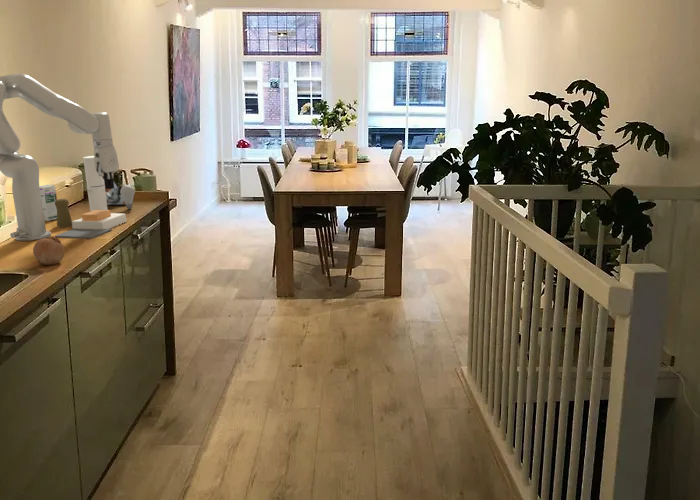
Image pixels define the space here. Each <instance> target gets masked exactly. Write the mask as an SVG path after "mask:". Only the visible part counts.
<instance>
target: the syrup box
mask: <svg viewBox="0 0 700 500" xmlns="http://www.w3.org/2000/svg"><path fill="white" fill-rule="evenodd" d="M39 187H40V194H41V200H42V207H43V214H44V220H45V221H46V222H50V221H53V220H57V207H56V206H55V201H56V200H57V199H58V196H57V190H56V185H53V184H44V185H39Z"/></svg>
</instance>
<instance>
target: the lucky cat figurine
mask: <svg viewBox="0 0 700 500" xmlns="http://www.w3.org/2000/svg"><path fill="white" fill-rule="evenodd" d="M104 185H105V183H104ZM123 186H124V185H123V183H121V184H120V185H119V186H117V184H116V183H115V182H114V188H112V189H105V193H106V201H107V206H111V205H117V206H120V205H121V206H126V204H125V200H124V198H123V197H122V195H121V193H120V190H121V188H122V187H123Z"/></svg>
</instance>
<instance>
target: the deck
mask: <svg viewBox="0 0 700 500" xmlns="http://www.w3.org/2000/svg"><path fill="white" fill-rule="evenodd" d="M124 222H125V223H127V215H126V213H119V212H118V213H117V212H111V216H110V217H107V218H104V219H101V220H99V221H84V220H82V217H80V218H78V219H74V220H72V226H71V227H72V229H112V228H115V227H117V226H120V225H123V224H125V223H124ZM122 223H123V224H122ZM119 224H120V225H119Z"/></svg>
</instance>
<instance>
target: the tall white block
mask: <svg viewBox="0 0 700 500" xmlns="http://www.w3.org/2000/svg"><path fill="white" fill-rule="evenodd" d="M82 160H83V167H84V174H85V182H86V190H87V195H88V197H87V198H88V204H89V212H90V211H93V210H109V209H108V205H107V201H106V193H105V185H104V179H103V177H102V176H99V175H98V172H96V168H95V162H94V155H87V156H83V157H82Z"/></svg>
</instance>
